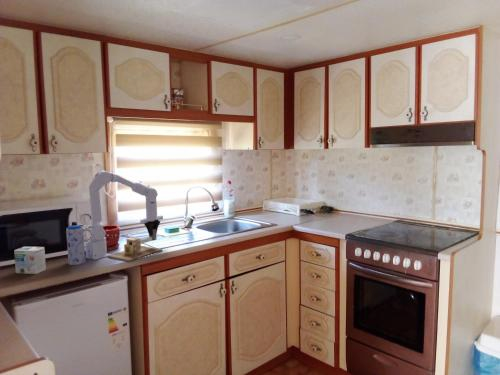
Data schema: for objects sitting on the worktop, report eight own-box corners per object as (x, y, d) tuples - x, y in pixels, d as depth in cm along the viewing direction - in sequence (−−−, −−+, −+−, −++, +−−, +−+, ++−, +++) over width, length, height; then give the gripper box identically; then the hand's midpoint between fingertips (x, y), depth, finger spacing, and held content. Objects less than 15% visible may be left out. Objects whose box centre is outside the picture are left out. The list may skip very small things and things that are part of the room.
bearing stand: (129, 262, 190) (128, 245, 189) (108, 257, 199) (107, 241, 198) (162, 251, 209) (161, 235, 208) (141, 247, 217) (140, 232, 216)
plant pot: (95, 247, 220) (93, 226, 218) (119, 244, 224) (118, 224, 223) (95, 253, 208) (93, 230, 206) (121, 250, 212) (119, 228, 211)
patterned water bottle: (66, 262, 192) (63, 222, 190) (83, 259, 197) (80, 219, 195) (70, 265, 186) (67, 224, 184) (87, 262, 191) (84, 222, 189)
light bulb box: (15, 273, 177) (13, 250, 176) (26, 268, 183) (24, 246, 182) (36, 274, 175) (34, 250, 174) (46, 269, 182) (44, 246, 180)
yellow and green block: (135, 245, 202) (135, 234, 201) (131, 244, 203) (131, 233, 203) (156, 239, 214) (156, 228, 213) (152, 239, 215) (152, 228, 215)
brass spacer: (131, 255, 198) (130, 245, 198) (124, 254, 201) (124, 244, 200) (133, 254, 200) (133, 245, 199) (127, 253, 202) (126, 243, 202)
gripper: (146, 212, 203) (147, 238, 205) (166, 208, 215) (167, 232, 217) (137, 211, 207) (138, 236, 209) (157, 207, 219) (158, 231, 221)
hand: (152, 234), depth 213 cm, fingers closed on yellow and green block, 2 cm apart
